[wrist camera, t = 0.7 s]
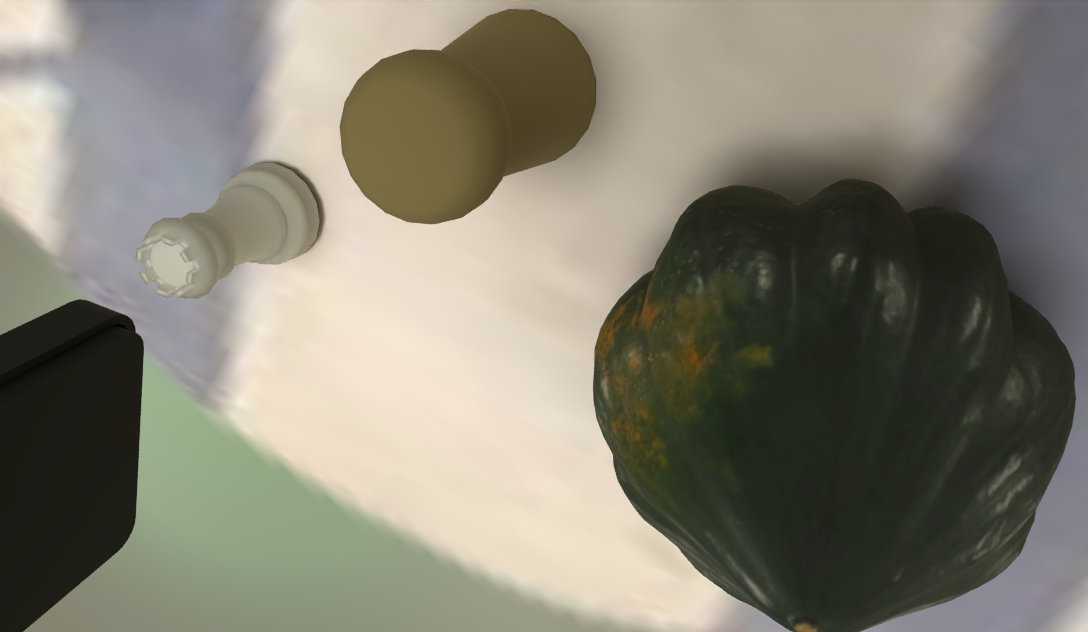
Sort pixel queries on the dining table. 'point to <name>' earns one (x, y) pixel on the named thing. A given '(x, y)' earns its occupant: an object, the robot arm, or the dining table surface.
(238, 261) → the rook chess piece
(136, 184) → the dining table surface
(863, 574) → the squash
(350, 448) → the dining table surface
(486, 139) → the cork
